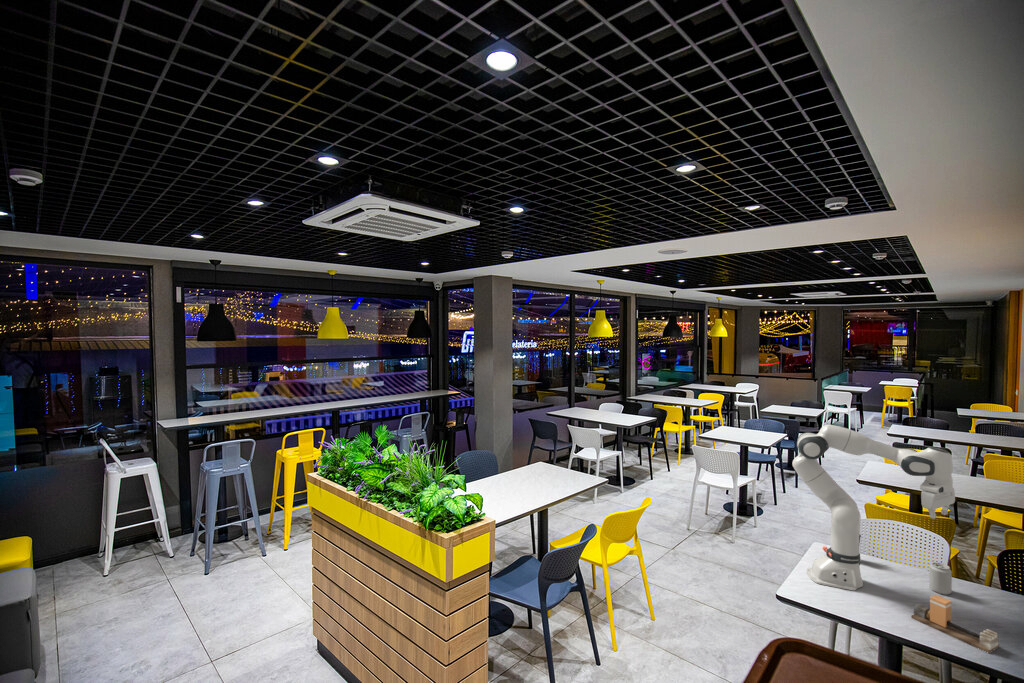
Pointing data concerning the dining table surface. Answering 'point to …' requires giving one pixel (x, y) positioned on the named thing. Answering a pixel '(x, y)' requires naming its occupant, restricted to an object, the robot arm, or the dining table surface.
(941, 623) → the orange box
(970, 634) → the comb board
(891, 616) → the dining table surface
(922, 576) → the dining table surface
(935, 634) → the dining table surface
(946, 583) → the can
